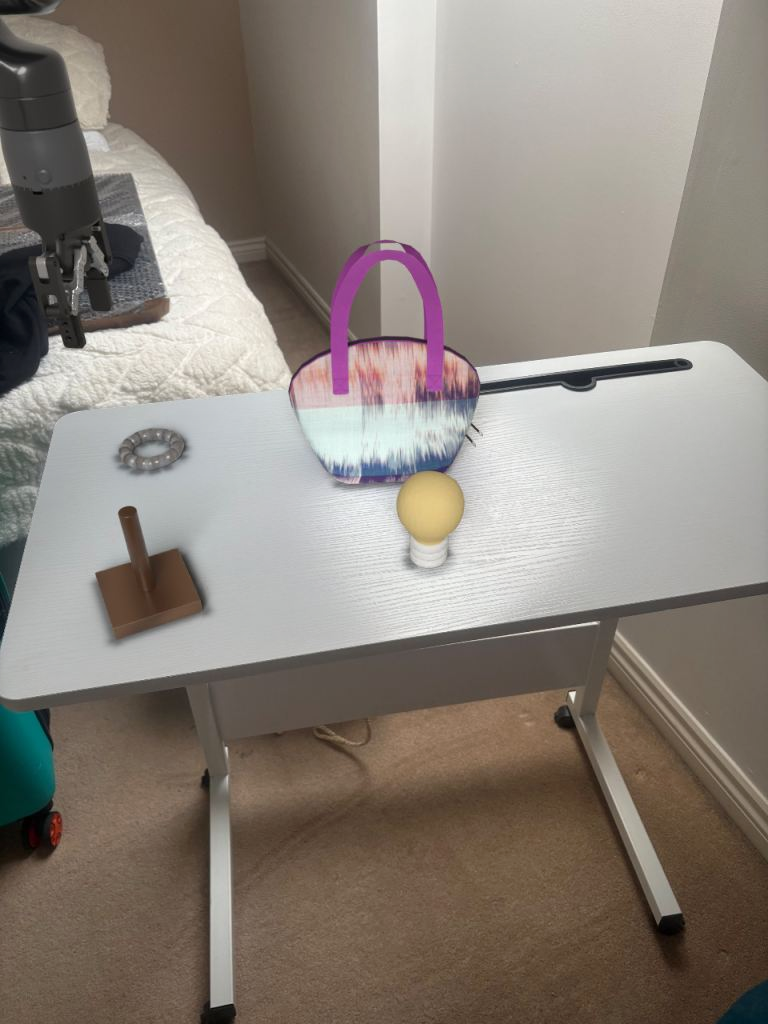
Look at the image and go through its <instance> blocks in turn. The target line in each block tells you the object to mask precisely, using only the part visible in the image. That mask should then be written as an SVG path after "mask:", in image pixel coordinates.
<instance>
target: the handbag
mask: <svg viewBox="0 0 768 1024" xmlns="http://www.w3.org/2000/svg"><path fill="white" fill-rule="evenodd" d="M376 244H377V245H378V244H399V245H400V246H401V248H402V249H403V250H404V251H403V250H398V249H397V250H396V249H381V250H374V251H370V252H369V253H367V254H365V253H366V251H367V250H368V248H369V247H370V246H372V245H376ZM364 254H365V255H364ZM384 261H396V262H398V263H400V264H401V265H403V266H404V267H405V268H406V269H407V271H408V272H409V274H411V277H412V280H413V281H414V283H415V285H416V287H417V290H418V292H419V295H420V297H421V300H422V306H423V307H422V309H423V338H420V337H414V336H406V335H380V336H371V337H363V338H362V337H361V338H357V339H354V340H350V341H348V340H349V339H348V334H349V332H348V331H349V320H350V312H351V310H352V309H351V308H352V304H353V302H354V299H355V297H356V294H357V292H358V290H359V288H360V286H361V284H362V282H363V280H364V278H365V276H366V275H367V273H368V272H369V271H370V269H371V268H372V267H373V266H375V265H376V264H378V263H380V262H384ZM330 304H331V305H330V322H329V323H330V324H329V325H330V327H329V328H330V330H329V331H330V332H329V333H330V347H329V348H327V349H324V350H322V351H320V352H317V353H316V354H314V355H313V356H311V357H310V358H308V359H307V360H305V361H304V362H302V363H301V364H300V366H299V367H298V368H297V370H296V371H295V372H294V374H293V375H292V376H291V378H290V382H289V385H288V390H287V392H288V397H289V402H290V407H291V408H292V411H293V413H294V415H295V418H296V420H297V422H298V424H299V426H300V428H301V431H302V433H303V434H304V436H305V438H306V440H307V441H308V444H309V445H310V447H311V449H312V450H313V452H314V454H315V456H316V457H317V459H318V461H319V462H320V464H321V465H322V467H323V469H324V470H325V471H326V472H328V473H329V474H330V475H331V476H332V477H333V479H335V481H337V482H341V483H344V484H348V485H362V484H363V485H364V484H365V485H367V484H383V483H405V482H406V480H407V479H408V478H410V477H411V476H412V475H414V474H416V473H418V472H422V471H436V472H440V473H444V474H445V472H446V471H448V469H449V468H450V467H451V466H452V464H453V463H454V462H455V459H456V457H457V456H458V454H459V452H460V450H461V448H462V445H463V444H464V441H465V439H467V440H468V441H469V442H470V443H471V444H472V446H473V447H474V448H476V447H477V445H476V443H475V442H474V441H473V439H472V438H471V437H470V436H469V435H468V431H469V429H470V427H472V429H474V430H475V432H477V434H479V435H480V436H481V437H483V436H484V435H483V432H482V431H481V430H480V429H479V428H478V427H477V426H476V425H475V424H473V422H472V421H473V419H474V415H475V412H476V409H477V406H478V403H479V399H480V393H481V380H480V377H479V373H478V370H477V369H476V368H475V366H474V365H473V364H472V363H471V362H470V361H469V359H468V358H467V357H466V356H465V355H463V354H461V353H459V351H457V350H455V349H454V348H452V347H450V346H448V345H445V343H444V342H445V341H444V339H445V337H444V336H445V335H444V334H445V333H444V316H443V315H444V314H443V307H442V302H441V298H440V296H439V292H438V287H437V284H436V281H435V279H434V276H433V273H432V272H431V269H430V267H429V265H428V264H427V261H426V260H425V259H424V257H423V256H422V254H421V252H419V251H418V250H417V249H416V248H415V247H413V246H412V245H411V244H406V243H402V242H400V241H396V240H393V239H382V240H376V241H373V242H372V243H368V244H365V245H363V246H359V247H358V248H357V249H356V250H355V251H354V252H353V253H351V254H350V256H349V257H348V258H347V260H346V261H345V264H344V265H343V267H342V269H341V272H340V273H339V276H338V278H337V280H336V283H335V287H334V289H333V293H332V298H331V303H330Z"/></svg>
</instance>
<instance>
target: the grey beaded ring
mask: <svg viewBox="0 0 768 1024" xmlns="http://www.w3.org/2000/svg"><path fill="white" fill-rule="evenodd" d="M151 441H164V442H166V443H169V444H170V447H169V449H168V450H166V451H165V452H163V453H161V454H158V455H154V456H150V457H149V456H138V455H136V454H134V453H133V451H134V449H135V448H136V447H138V446H139V445H141V444H143V443H147V442H151ZM184 448H185V442H184V441H183V439H182V437H181V435H180V434H179V433H177V432H175V431H173V430H171V429H168V428H162V427H161V428H160V427H151V428H146V429H143V430H139V431H136V432H134V433H132V434H131V435H129V436H127V437H126V438H124V439H123V440H122V443H121V444H120V446H119V448H118V450H117V451H118V455H119V457H120V461H121V462H122V463H123V464H124V465H126V466H128V467H130V468H133V469H135V470H146V471H153V470H157V469H161V468H164V467H167V466H170V465H171V464H172V463H174V462H175V461H176V460H178V459H179V458H180V457H181V456H182V453H183V452H184Z"/></svg>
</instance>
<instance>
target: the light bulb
mask: <svg viewBox="0 0 768 1024" xmlns="http://www.w3.org/2000/svg"><path fill="white" fill-rule="evenodd" d="M397 493H398V494H397V496H396V502H395V507H396V509H395V510H396V514H397V517H398V520H399V521H400V523H401V525H402V526H403V528H404V529H405V530H406V531H407V532H408V534H409V552H408V553H409V555H408V556H409V559H410V560H411V562H412V563H413V564H414V565H415V566H418V567H420V568H425V569H434V568H437V567H440V566H441V565H443V564H444V563H445V562H446V560H447V559H448V549H449V535H450V534H452V533H453V532H454V531H455V530H456V529H457V527H458V526H459V525H460V524H461V522H462V519H463V517H464V513H465V506H466V504H465V503H466V502H465V497H464V492H463V490H462V487H461V486H460V484H459V483H458V481H457V479H455V478H454V477H452V476H450V475H449V474H447V473H445V472H444V473H440V472H436V471H422V472H418V473H416V474H414V475H412V476H411V477H410V478H408V479H407V480H406V482H403V484H402V486H401V487H400V489H399V491H398V492H397Z"/></svg>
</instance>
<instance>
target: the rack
mask: <svg viewBox="0 0 768 1024" xmlns="http://www.w3.org/2000/svg"><path fill="white" fill-rule="evenodd" d="M117 516H118V519H119V523H120V528H121V530H122V534H123V538H124V541H125V545H126V549H127V553H128V556H129V560H130V561H129V562H126V563H123V564H119V565H116V566H112V567H110V568H106V569H103V570H100V571H96V572H95V573H94V575H95V578H96V583H97V585H98V588H99V591H100V594H101V597H102V600H103V603H104V607H105V610H106V613H107V616H108V619H109V623H110V625H111V629H112V632H113V635H114V637H115V640H120V639H124V638H126V637H130V636H132V635H135V634H138V633H141V632H144V631H148V630H151V629H153V628H157V627H159V626H162V625H166V624H168V623H171V622H174V621H178V620H181V619H185V618H187V617H189V616H193V615H195V614H198V613H201V612H203V611H204V609H203V608H204V607H203V603H202V600H201V597H200V595H199V593H198V590H197V588H196V586H195V584H194V581H193V580H192V577H191V575H190V573H189V570H188V568H187V566H186V564H185V561H184V559H183V557H182V554H181V552H180V550H179V548H178V547H176V548H172V549H169V550H166V551H163V552H159V553H156V554H153V555H149V552H148V548H147V545H146V541H145V536H144V533H143V529H142V524H141V521H140V517H139V513H138V509H137V508H136V507H135V506H133V505H125V506H122V507H120V508H119V510H118V511H117Z"/></svg>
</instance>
